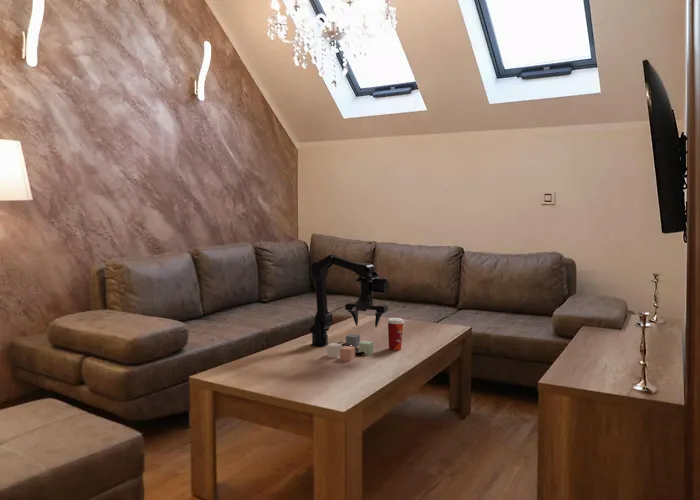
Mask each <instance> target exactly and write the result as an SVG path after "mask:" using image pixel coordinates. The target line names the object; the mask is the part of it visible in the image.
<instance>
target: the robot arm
mask: <svg viewBox="0 0 700 500" xmlns="http://www.w3.org/2000/svg"><path fill="white" fill-rule="evenodd" d="M332 266H338V267H341V268H343V269H347V270H349V271H352V272H354V274H355V275H357V276H358V277H357V278H356V279H355V282H359V283H360V284H359V295H358V299H357V301H349V302H347V303H345V306H344V310H345V311H347V312H348V313H350V314H351V316H352V319H353V321H354V324H355V326H358V324H359V312H360V311H361V312H367V310H368V311H369V310H370V311H375V312H374V314H375V321H374V322H375V323H374V327H375V328H378V324H379V322H380V321H381V320H380V319H381V318H382V316H383V314H385V313H386V312H388V311H389V307H388V305H387V304H382V303H379V304H377V305H374V296H375V295H374V294H383V295H387V294H388V293H389V292H390V289H391V287H390V282H389V281H388V278H387V277H384V278H381V277H380V276H379V274H378V272H376V268H375V265H373V264H372V263H369V262H368V263H367V262H357V261H354V260H352V259H349V258H345V257H342V256H340V255H337V254H329V255H327V256H326V257H324V258H323V259H320V260H318V261H316V262H314V261H313V263H311V265H310V272H311V276H312V278H313V279H314V285H315V297H316V313H315V316H314V323H313V324H312V326H311V327H310V328H309V331H310V334H311V335H312V336H311V342H312V343H310V346H314V347H320V348H321V347H325V346H328V345H329V342H328V341H329V337H328V331H329V330H330V328H331V326H332V324H333V322H334V320H333V313H332V312H331V313H330V312H329V310H328V299H327V283H326V282H327V281H326V280H327V276H328V275H329V268H331V267H332Z"/></svg>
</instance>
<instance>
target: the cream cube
mask: <svg viewBox="0 0 700 500" xmlns="http://www.w3.org/2000/svg"><path fill="white" fill-rule="evenodd" d="M326 346H327V347H326V350H327V351H326V356H327V358H335V359H338V358H340V348H342V347H343V344H342V343H336V342H335V343H334V342H331V343H328V344H327V345H326Z"/></svg>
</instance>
